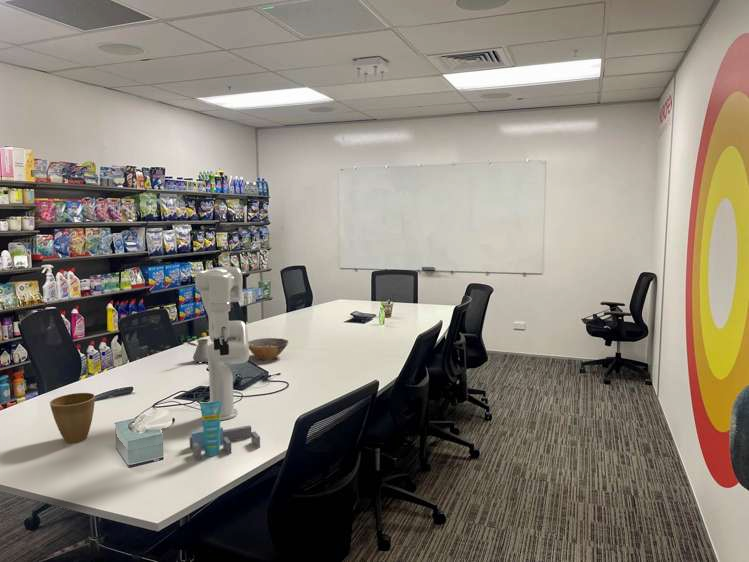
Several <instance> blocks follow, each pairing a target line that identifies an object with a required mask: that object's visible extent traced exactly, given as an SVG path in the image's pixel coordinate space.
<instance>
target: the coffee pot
mask: <svg viewBox="0 0 749 562" xmlns="http://www.w3.org/2000/svg"><path fill="white" fill-rule="evenodd" d="M196 341H197V344H196V343H193V342H189V341H186V342H185V344H184V345H186V344H187V345H186V346H189V345H191V346H194V347H196V349H195V352H194V353H193V355H192V356H193V357H192V359H193V360H194V361H195V362H196V363H197V362H208V361H207V356H206V349H207V347H208V346H209V344H208V343H209V339H207V338H200V339H197V340H196Z"/></svg>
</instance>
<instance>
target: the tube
mask: <svg viewBox="0 0 749 562" xmlns="http://www.w3.org/2000/svg"><path fill="white" fill-rule="evenodd" d="M221 406H222V400H221V401H214V402H210V401H208V402H206V401H205V402H199V407H200V412H201V420H202V428H203V429H202V431H204V444H205V447H204V454H205V456H207V457H213V456H218V455H219V454H220V448H221V446H220V445H221V444H220V427H221V421H222V420H221Z"/></svg>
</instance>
